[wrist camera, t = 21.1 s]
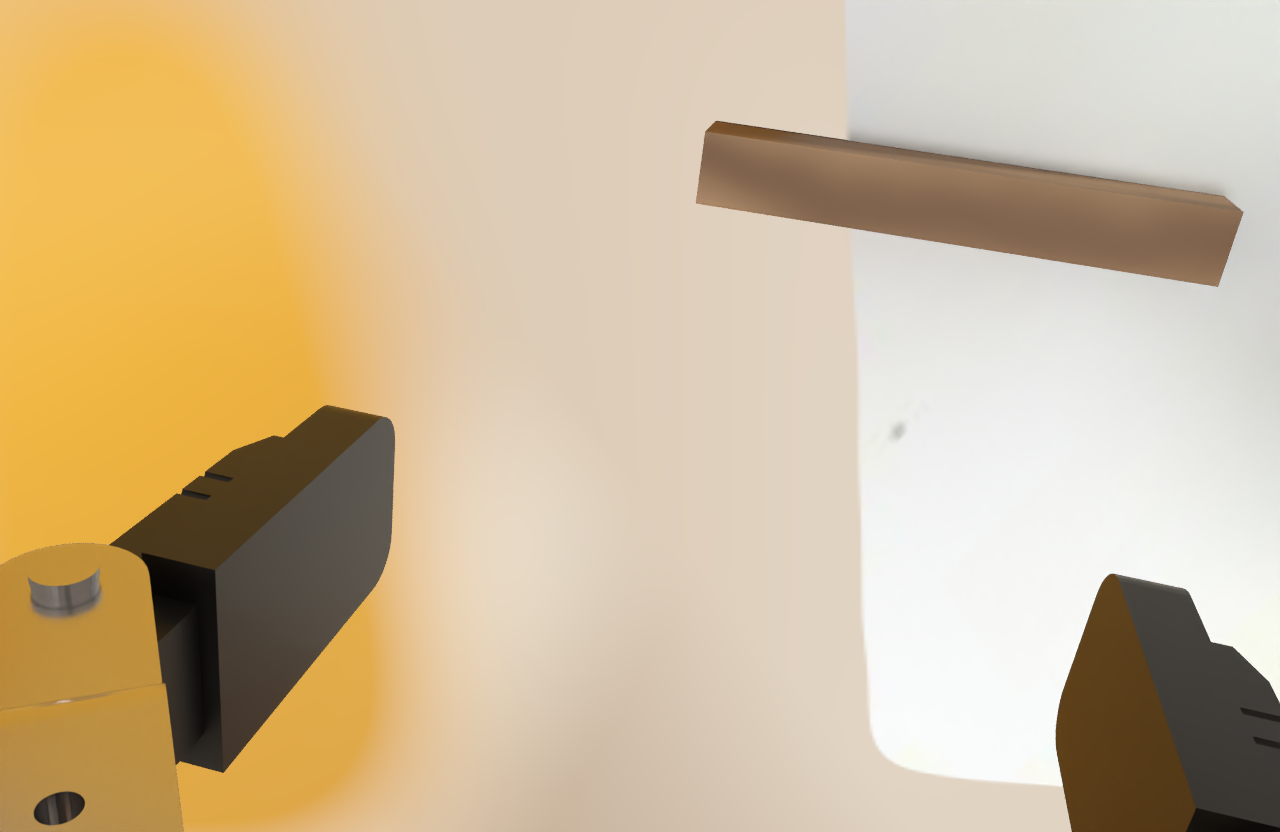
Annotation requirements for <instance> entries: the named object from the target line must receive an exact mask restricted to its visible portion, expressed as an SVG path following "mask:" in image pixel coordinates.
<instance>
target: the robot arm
mask: <svg viewBox="0 0 1280 832" xmlns="http://www.w3.org/2000/svg"><path fill="white" fill-rule="evenodd" d="M394 452H395V433H394V427H393V424H392V422H391V421H390V419H388V418H386V417H382V416H376V415H372V414H368V413H363V412H358V411H353V410H349V409H344V408H339V407H334V406H329V405H326V406H323V407H322V408H320V409H319V410H317V411H316V412H315V413H314V414H313V415H311V416H310V417H309V418H308V419H306V420H305V421H304V422H303V423H301V424H300V425H299V426H298V427H296V428H295V429H294V430H293V431H291V432H290V433H289V434H288V435H287V436H285V437H284V438H283V437H278V436H271V437H268V438H266V439H263V440H260V441H258V442H255V443H252V444H249V445H247V446H244V447H241V448H238V449H236V450H233V451H232V452H230V453H229V454H228V455H226V456H225V457H224V458H222V459H221V460H220V461H219V462H217V463H216V464H215V465H213V466H212V467H211V468H209V469H208V470H207V471H206V472H205V476H204V477H203V476H199V477H198V478H196V479H195V480H194V481H193V482H191V483H190V484H188V485H187V486H186V487H185V488H183V490H182V493H181V494H175V495H174V496H173V497H172V498H170V499H169V500H167V502H165V503H164V504H162V505H161V506H160V507H158V508H157V509H156V510H155V511H153V512H152V513H150V514H149V515H148V516H147V517H145V518H144V519H143V520H141V521H140V522H139V523H137V524H136V525H135V526H133V527H132V528H131V529H129V530H128V531H127V532H126V533H124V534H123V535H122V536H120V537H119V538H118V539H116V540H115V541H114V542H112V543H111V544H110V545H104V544H95V543H74V544H63V545H56V546H50V547H46V548H42V549H38V550H34V551H31V552H28V553H25V554H22V555H20V556H18V557H15V558H13V559H11V560H9V561H7V562H5V563H3V564H2V565H0V832H184V829H183V821H182V812H181V804H180V796H179V788H178V780H177V772H176V765H177V764H178V763H179V762H180V761H181V762H185V763H189V764H192V765H196V766H201V767H204V768H207V769H211V770H215V771H219V772H222V773H224V772H225V770H226V769H227V768H228V767H229V765H230V764H231V763H232V762H233V760H234V759H235V758H236V757H237V756H238V754H239V753H240V752H241V751H242V749H243V748H244V747H245V746H246V744H247V743H248V742H249V741H250V740H251V738H252V737H253V736H254V735H255V733H256V732H257V731H258V730H259V729H260V727H261V726H262V725H263V723H264V722H265V721H266V720H267V719H268V717H269V716H270V715H271V714H272V713H273V711H274V710H275V709H276V708H277V706H278V705H279V704H280V703H281V701H282V700H283V699H284V698H285V697H286V695H287V694H288V693H289V692H290V690H291V689H292V688H293V687H294V685H295V684H296V683H297V682H298V681H299V679H300V678H301V677H302V676H303V674H304V673H305V672H306V671H307V670H308V668H309V667H310V666H311V665H312V663H313V662H314V661H315V660H316V659H317V657H318V656H319V655H320V654H321V652H322V651H323V650H324V649H325V647H326V646H327V645H328V644H329V642H330V641H331V640H332V639H333V638H334V636H335V635H336V634H337V633H338V631H339V630H340V629H341V628H342V627H343V625H344V624H345V623H346V622H347V620H348V619H349V618H350V617H351V616H352V614H353V613H354V612H355V611H356V609H357V608H358V607H359V606H360V605H361V603H362V602H363V601H364V600H365V598H366V597H367V596H368V595H369V593H370V592H371V591H372V590H373V588H374V587H375V586H376V584H377V582H378V581H379V579H380V577H381V574H382V572H383V570H384V567H385V564H386V561H387V558H388V554H389V549H390V543H391V534H392V509H393V479H394ZM1056 751H1057V757H1058V762H1059V767H1060V772H1061V777H1062V783H1063V788H1064V793H1065V798H1066V803H1067V809H1068V813H1069V819H1070V824H1071V829H1072V832H1280V703H1279V701H1278V699H1277V697H1276V695H1275V693H1274V691H1273V689H1272V687H1271V685H1270V683H1269V681H1268V680H1266V679H1265V678H1264V677H1263V676H1262V675H1261V674H1260V673H1259V672H1258V671H1257V670H1256V669H1255V668H1254V667H1253V666H1252V665H1251V664H1250V663H1249V662H1248V661H1247V660H1246V659H1245V658H1244V657H1243V656H1242V655H1241V654H1240V653H1238V652H1237V651H1236V650H1235V649H1234V648H1233V647H1231V646H1226V645H1222V644H1217V643H1213V642H1211V641H1210V639H1209V637H1208V634H1207V632H1206V630H1205V627H1204V625H1203V623H1202V621H1201V618H1200V616H1199V614H1198V612H1197V609H1196V607H1195V605H1194V603H1193V600H1192V598H1191V596H1190V594H1189V592H1188V591H1187V590H1186V589H1183V588H1178V587H1174V586H1169V585H1164V584H1159V583H1155V582H1150V581H1145V580H1141V579H1136V578H1131V577H1127V576H1122V575H1117V574H1110V575H1108V576H1107V577H1106V578H1105V579H1104V581H1103V582H1102V584H1101V586H1100V588H1099V590H1098V593H1097V596H1096V598H1095V601H1094V604H1093V607H1092V610H1091V612H1090V615H1089V618H1088V621H1087V624H1086V627H1085V629H1084V632H1083V635H1082V638H1081V641H1080V644H1079V646H1078V649H1077V652H1076V655H1075V658H1074V661H1073V664H1072V666H1071V669H1070V672H1069V675H1068V678H1067V681H1066V683H1065V686H1064V689H1063V692H1062V696H1061V700H1060V704H1059V709H1058V715H1057V723H1056Z"/></svg>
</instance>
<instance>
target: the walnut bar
mask: <svg viewBox="0 0 1280 832" xmlns="http://www.w3.org/2000/svg"><path fill="white" fill-rule="evenodd" d="M696 203H697V204H703V205H709V206H716V207H722V208H728V209H735V210H741V211H747V212H753V213H760V214H766V215H772V216H778V217H785V218H791V219H797V220H803V221H810V222H816V223H822V224H829V225H835V226H841V227H848V228H853V229H860V230H866V231H872V232H878V233H885V234H891V235H897V236H903V237H910V238H916V239H922V240H928V241H935V242H941V243H947V244H954V245H960V246H966V247H972V248H979V249H985V250H991V251H997V252H1004V253H1010V254H1016V255H1022V256H1029V257H1035V258H1041V259H1047V260H1054V261H1060V262H1066V263H1073V264H1079V265H1085V266H1091V267H1098V268H1104V269H1110V270H1116V271H1123V272H1129V273H1135V274H1141V275H1148V276H1154V277H1160V278H1166V279H1173V280H1179V281H1185V282H1192V283H1198V284H1204V285H1210V286H1217V287H1218V285H1219V282H1220V279H1221V276H1222V273H1223V270H1224V267H1225V265H1226V262H1227V259H1228V256H1229V253H1230V250H1231V247H1232V244H1233V241H1234V238H1235V235H1236V232H1237V229H1238V226H1239V224H1240V221H1241V218H1242V215H1243V211H1241V210H1240V209H1239V208H1238V207H1236V206H1235V205H1234V204H1233V203H1232V202H1230V201H1229V200H1228V199H1227V198H1225V197H1224V196H1218V195H1211V194H1204V193H1197V192H1191V191H1184V190H1177V189H1170V188H1163V187H1157V186H1150V185H1143V184H1136V183H1130V182H1123V181H1116V180H1109V179H1103V178H1096V177H1089V176H1082V175H1076V174H1069V173H1062V172H1055V171H1049V170H1042V169H1035V168H1028V167H1022V166H1015V165H1008V164H1001V163H995V162H988V161H981V160H974V159H968V158H961V157H954V156H947V155H941V154H934V153H927V152H920V151H914V150H907V149H900V148H893V147H887V146H880V145H873V144H866V143H859V142H853V141H848V140H844V139H837V138H830V137H823V136H817V135H810V134H803V133H797V132H790V131H782V130H776V129H770V128H763V127H756V126H749V125H742V124H736V123H728V122H722V121H715V123H713V124H712V125H711V126H710V127H709V128H708V129H707V130H706V132H705V138H704V146H703V154H702V161H701V169H700V176H699V184H698V192H697V199H696Z"/></svg>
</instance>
